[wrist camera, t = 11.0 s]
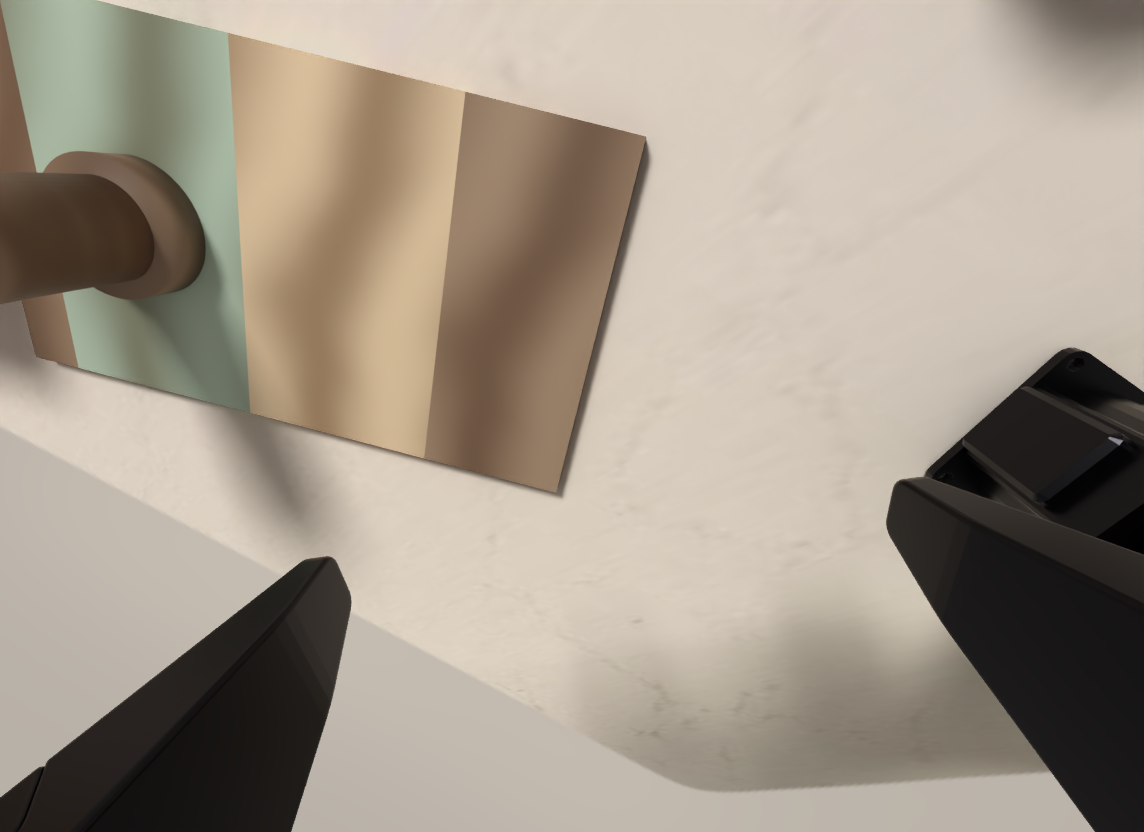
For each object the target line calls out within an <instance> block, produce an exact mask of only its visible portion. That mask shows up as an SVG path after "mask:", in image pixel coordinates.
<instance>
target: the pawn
mask: <svg viewBox="0 0 1144 832" xmlns="http://www.w3.org/2000/svg"><path fill="white" fill-rule="evenodd" d="M205 253H206V245H205V236H204V232H203V227H202V224H201V221H200V218H199V216H198V214H197V212H196V210H195V208H194V206H193V204H192V202H191V201H190V199H189V198H188V196H187V195H186V193H185V192H184V191H183V189H182V188H181V187H180V186H179V185H178V184H177V183H176V182H175V181H174V180H173V178H172V177H170V176H169V175H168V174H167V173H166V172H164V171H163V170H162V169H160V168H159V167H157V166H156V165H154V164H153V163H151V162H149V161H147V160H145V159H142V158H139V157H137V156H132V155H128V154H115V153H101V152H87V151H72V152H67V153H63V154H61V155H59V156H57V157H56V158H54V159H53V160H52V161H51V162H50V163H49V164H48V165H47V166H46V168H45V169H44V171H43V173H37V172H3V171H0V304H2V303H8V302H13V301H19V300H24V299H30V298H36V297H41V296H47V295H53V294H58V293H64V292H69V291H75V290H81V289H86V288H92V287H94V288H95V289H97V290H99V291H101V292H103V293H105V294H107V295H110V296H113V297H116V298H120V299H126V300H139V299H144V298H149V297H153V296H158V295H163V294H167V293H172V292H176V291H180V290H182V289H185V288H186V287H188V286H190V285H191V284H192V283H193V282H194V281H195V280H196V279H197V277H198V276H199V274H200V272H201V270H202V268H203V265H204V261H205Z"/></svg>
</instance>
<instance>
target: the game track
mask: <svg viewBox="0 0 1144 832" xmlns="http://www.w3.org/2000/svg"><path fill="white" fill-rule="evenodd" d="M645 141H646V137H645V136H641V135H637V134H633V133H629V132H625V131H621V130H617V129H613V128H609V127H605V126H601V125H597V124H593V123H589V122H585V121H581V120H577V119H573V118H569V117H565V116H561V115H557V114H553V113H548V112H544V111H540V110H536V109H532V108H528V107H524V106H520V105H516V104H512V103H508V102H504V101H500V100H496V99H492V98H488V97H484V96H480V95H476V94H472V93H468V92H464V91H460V90H456V89H452V88H448V87H444V86H440V85H436V84H431V83H427V82H423V81H419V80H415V79H411V78H407V77H403V76H399V75H395V74H391V73H387V72H383V71H379V70H375V69H371V68H367V67H363V66H359V65H355V64H351V63H347V62H343V61H339V60H335V59H331V58H327V57H323V56H319V55H314V54H310V53H306V52H302V51H298V50H294V49H290V48H286V47H282V46H278V45H274V44H270V43H266V42H262V41H258V40H254V39H250V38H246V37H242V36H238V35H234V34H230V33H226V32H222V31H218V30H214V29H210V28H206V27H202V26H197V25H193V24H189V23H185V22H181V21H177V20H173V19H169V18H165V17H161V16H157V15H153V14H149V13H145V12H141V11H137V10H133V9H129V8H125V7H121V6H117V5H113V4H109V3H105V2H101V1H97V0H0V171H3V172H37V173H43V171H44V169H45V168H46V166H47V165H48V164H49V163H50V162H51V161H52V160H53V159H54V158H56V157H57V156H59V155H61V154H63V153H67V152H72V151H87V152H101V153H115V154H128V155H132V156H137V157H139V158H142V159H145V160H147V161H149V162H151V163H153V164H154V165H156V166H157V167H159V168H160V169H162V170H163V171H164V172H166V173H167V174H168V175H169V176H170V177H172V178H173V180H174V181H175V182H176V183H177V184H178V185H179V186H180V187H181V188H182V189H183V191H184V192H185V193H186V195H187V196H188V198H189V199H190V201H191V202H192V204H193V206H194V208H195V210H196V212H197V214H198V216H199V218H200V221H201V224H202V227H203V232H204V236H205V245H206V253H205V261H204V265H203V268H202V270H201V272H200V274H199V276H198V277H197V279H196V280H195V281H194V282H193V283H192V284H191V285H190V286H188V287H186V288H185V289H182V290H180V291H176V292H172V293H167V294H163V295H158V296H153V297H149V298H144V299H139V300H126V299H120V298H116V297H113V296H110V295H107V294H105V293H103V292H101V291H99V290H97V289H95V288H94V287H92V288H86V289H81V290H75V291H69V292H64V293H58V294H53V295H47V296H41V297H36V298H30V299H24V300H22V302H23V306H24V310H25V314H26V318H27V322H28V326H29V330H30V334H31V338H32V342H33V346H34V350H35V354H36V357H39V358H43V359H46V360H50V361H54V362H58V363H62V364H66V365H69V366H73V367H77V368H81V369H85V370H88V371H92V372H96V373H100V374H104V375H108V376H111V377H115V378H119V379H123V380H127V381H130V382H134V383H138V384H142V385H146V386H150V387H153V388H157V389H161V390H165V391H169V392H172V393H176V394H180V395H184V396H188V397H192V398H195V399H199V400H203V401H207V402H211V403H214V404H218V405H222V406H226V407H230V408H234V409H237V410H241V411H245V412H249V413H253V414H256V415H260V416H264V417H268V418H272V419H276V420H279V421H283V422H287V423H291V424H295V425H298V426H302V427H306V428H310V429H314V430H318V431H321V432H325V433H329V434H333V435H337V436H340V437H344V438H348V439H352V440H356V441H359V442H363V443H367V444H371V445H375V446H379V447H382V448H386V449H390V450H394V451H398V452H401V453H405V454H409V455H413V456H417V457H421V458H424V459H428V460H432V461H436V462H440V463H443V464H447V465H451V466H455V467H459V468H463V469H466V470H470V471H474V472H478V473H482V474H485V475H489V476H493V477H497V478H501V479H505V480H508V481H512V482H516V483H520V484H524V485H527V486H531V487H535V488H539V489H543V490H547V491H550V492H554V493H556V491H557V488H558V484H559V480H560V476H561V472H562V468H563V464H564V460H565V456H566V452H567V448H568V444H569V441H570V437H571V433H572V429H573V425H574V421H575V417H576V413H577V409H578V405H579V401H580V397H581V393H582V389H583V385H584V381H585V377H586V373H587V370H588V366H589V362H590V358H591V354H592V350H593V346H594V342H595V338H596V334H597V330H598V326H599V322H600V318H601V314H602V310H603V306H604V302H605V299H606V295H607V291H608V287H609V283H610V279H611V275H612V271H613V267H614V263H615V259H616V255H617V251H618V247H619V243H620V239H621V235H622V231H623V227H624V224H625V220H626V216H627V212H628V208H629V204H630V200H631V196H632V192H633V188H634V184H635V180H636V176H637V172H638V168H639V164H640V160H641V156H642V153H643V149H644V145H645Z"/></svg>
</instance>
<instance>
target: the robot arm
mask: <svg viewBox="0 0 1144 832" xmlns="http://www.w3.org/2000/svg"><path fill="white" fill-rule="evenodd" d="M1074 358H1075V362H1074V363H1073V365H1072V366H1070V367H1068V368H1067V364H1068V363H1069V362H1070V361H1071V360H1073V359H1074ZM943 473H947V474H946V476H945V477H943V478H939V476H940V475H941V474H943ZM926 476H927V477H916V478H909V479H902V480H899V481H897V482H896V484H895V485H894V487H893V491H892V496H891V500H890V505H889V510H888V514H887V519H886V526H887V530H888V533H889V536H890V538H891V539H892V541H893V543H894V544H895V546H896V548H897V549H898V551H899V553H900V554H901V556H902V558H903V559H904V561H905V563H906V564H907V566H908V568H909V569H910V571H911V573H912V575H913V576H914V578H915V580H916V581H917V583H918V585H919V586H920V588H921V590H922V591H923V593H924V595H925V596H926V598H927V600H928V601H929V603H930V605H931V606H932V608H933V610H934V611H935V613H936V614H937V616H938V617H939V619H940V621H941V622H942V624H943V625H944V626H945V628H946V629H947V631H948V632H949V634H950V635H951V636H952V638H953V639H954V641H955V642H956V643H957V645H958V646H959V647H960V649H961V650H962V651H963V653H964V654H965V655H966V657H967V658H968V660H969V661H970V662H971V664H972V665H973V666H974V668H975V669H976V670H977V672H978V673H979V675H980V676H981V677H982V679H983V680H984V681H985V683H986V684H987V685H988V687H989V688H990V690H991V691H992V692H993V694H994V695H995V696H996V698H997V699H998V700H999V702H1000V703H1001V705H1002V706H1003V707H1004V709H1005V710H1006V711H1007V713H1008V714H1009V715H1010V717H1011V718H1012V719H1013V721H1014V722H1015V724H1016V725H1017V726H1018V728H1019V729H1020V730H1021V732H1022V733H1023V734H1024V736H1025V737H1026V739H1027V740H1028V741H1029V743H1030V744H1031V745H1032V747H1033V748H1034V749H1035V751H1036V752H1037V754H1038V755H1039V756H1040V758H1041V759H1042V760H1043V762H1044V763H1045V764H1046V766H1047V767H1048V768H1049V770H1050V771H1051V773H1052V774H1053V775H1054V777H1055V778H1056V779H1057V780H1058V782H1059V783H1060V785H1061V786H1062V788H1063V789H1064V790H1065V791H1066V793H1067V794H1068V796H1069V797H1070V798H1071V800H1072V801H1073V803H1074V804H1075V805H1076V806H1077V808H1078V809H1079V811H1080V812H1081V813H1082V815H1083V816H1084V818H1085V819H1086V820H1087V822H1088V823H1089V824H1090V826H1091V827H1092V828H1093V830H1094V831H1095V832H1144V392H1143V391H1142V390H1140V389H1139V388H1137V387H1136V386H1135V385H1133V384H1132V383H1130V382H1129V381H1128V380H1126V379H1125V378H1123V377H1122V376H1120V375H1119V374H1118V373H1116V372H1115V371H1113V370H1112V369H1111V368H1109V367H1108V366H1106V365H1105V364H1104V363H1102V362H1101V361H1099V360H1098V359H1097V358H1095V357H1094V356H1092V355H1091V354H1090V353H1087V352H1085V351H1082V350H1079V349H1077V348H1067V349H1063V350H1061V351H1060V352H1058V353H1057V354H1055V355H1054V356H1053V357H1052V358H1051V359H1050V360H1049V361H1048V362H1047V363H1045V364H1044V365H1043V366H1042V367H1041V368H1040V369H1039V370H1038V371H1036V372H1035V373H1034V374H1033V375H1032V376H1031V377H1030V378H1029V379H1028V380H1026V381H1025V382H1024V383H1023V384H1022V385H1021V386H1020V387H1019V388H1018V389H1016V390H1015V391H1014V392H1013V393H1012V394H1011V395H1010V396H1009V397H1007V398H1006V399H1005V400H1004V401H1003V402H1002V403H1001V404H1000V405H999V406H997V407H996V408H995V409H994V410H993V411H992V412H991V413H990V414H989V415H987V416H986V417H985V418H984V419H983V420H982V421H981V422H980V423H978V424H977V425H976V426H975V427H974V428H973V429H972V430H971V431H970V432H968V433H967V434H966V435H965V436H964V437H963V438H962V439H961V440H960V441H958V442H957V443H956V444H955V445H954V446H953V447H952V448H951V449H949V450H948V451H947V452H946V453H945V454H944V455H943V456H942V457H941V458H939V459H938V460H937V461H936V462H935V463H934V464H933V465H932V466H931V467H930V468H929V469H928V470H927V473H926ZM350 611H351V595H350V591H349V589H348V587H347V584H346V582H345V580H344V578H343V575H342V573H341V571H340V568H339V566H338V564H337V562H336V560H335V559H334V558H332V557H329V556H326V557H318V558H310V559H306V560H304V561H302V562H301V563H299V564H298V565H297V566H296V567H294V568H293V569H292V570H290V571H289V572H288V573H287V574H285V575H284V576H283V577H282V578H280V579H279V580H278V581H276V582H275V583H274V584H273V585H271V586H270V587H269V588H267V589H266V590H265V591H264V592H262V593H261V594H260V595H258V596H257V597H256V598H255V599H254V600H252V601H251V602H250V603H248V604H247V605H246V606H244V607H243V608H242V609H241V610H239V611H238V612H237V613H236V614H234V615H233V616H232V617H230V618H229V619H228V620H227V621H226V622H224V623H223V624H221V625H220V626H219V627H218V628H216V629H215V630H214V631H212V632H211V633H210V634H209V635H207V636H206V637H205V638H204V639H202V640H201V641H200V642H198V643H197V644H196V645H195V646H193V647H192V648H191V649H190V650H188V651H187V652H186V653H184V654H183V655H182V656H181V657H179V658H178V659H177V660H175V661H174V662H173V663H172V664H170V665H169V666H168V667H166V668H165V669H164V670H163V671H161V672H160V673H159V674H158V675H157V676H155V677H154V678H152V679H151V680H150V681H149V682H147V683H146V684H145V685H143V686H142V687H141V688H140V689H138V690H137V691H136V692H135V693H133V694H132V695H131V696H130V697H128V698H127V699H126V700H124V701H123V702H122V703H120V704H119V705H118V706H117V707H115V708H114V709H113V710H112V711H111V712H109V713H108V714H106V715H105V716H104V717H103V718H101V719H100V720H99V721H98V722H96V723H95V724H94V725H93V726H91V727H90V728H89V729H88V730H86V731H85V732H84V733H82V734H81V735H80V736H78V737H77V738H76V739H74V740H73V741H72V742H71V743H69V744H68V745H67V746H66V747H64V748H63V749H62V750H60V751H59V752H58V753H57V754H55V755H54V756H53V757H52V758H50V759H49V760H48V761H47V763H46V765H45V767H39V768H37V769H36V770H35V771H33V772H32V773H31V774H30V775H28V776H27V777H26V778H24V779H23V780H22V781H21V782H20V783H18V784H17V785H16V786H14V787H13V788H12V789H11V790H9V791H8V792H7V793H5V794H4V795H3V796H2V797H0V832H291V831H292V827H293V824H294V821H295V818H296V815H297V811H298V808H299V805H300V802H301V799H302V796H303V792H304V789H305V786H306V783H307V780H308V776H309V773H310V770H311V767H312V764H313V760H314V757H315V754H316V751H317V748H318V744H319V741H320V738H321V735H322V732H323V729H324V725H325V722H326V719H327V716H328V712H329V708H330V705H331V701H332V697H333V692H334V689H335V684H336V679H337V674H338V669H339V664H340V660H341V655H342V649H343V645H344V640H345V634H346V630H347V625H348V621H349V615H350Z"/></svg>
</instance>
